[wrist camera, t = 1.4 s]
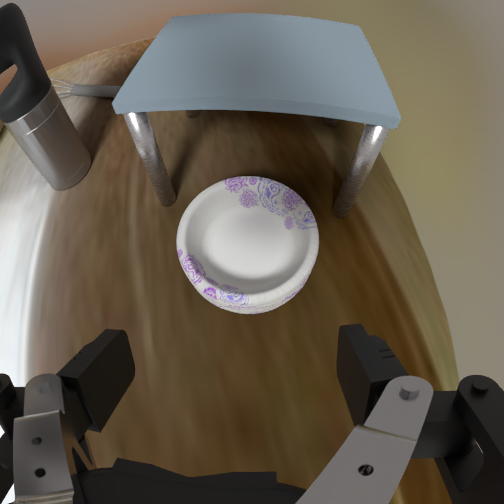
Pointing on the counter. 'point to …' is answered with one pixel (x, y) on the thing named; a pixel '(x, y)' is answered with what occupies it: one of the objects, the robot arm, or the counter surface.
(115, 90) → the kitchen whisk
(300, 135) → the counter surface
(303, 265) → the paper bowls
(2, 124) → the beige rectangular block
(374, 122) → the small side table
